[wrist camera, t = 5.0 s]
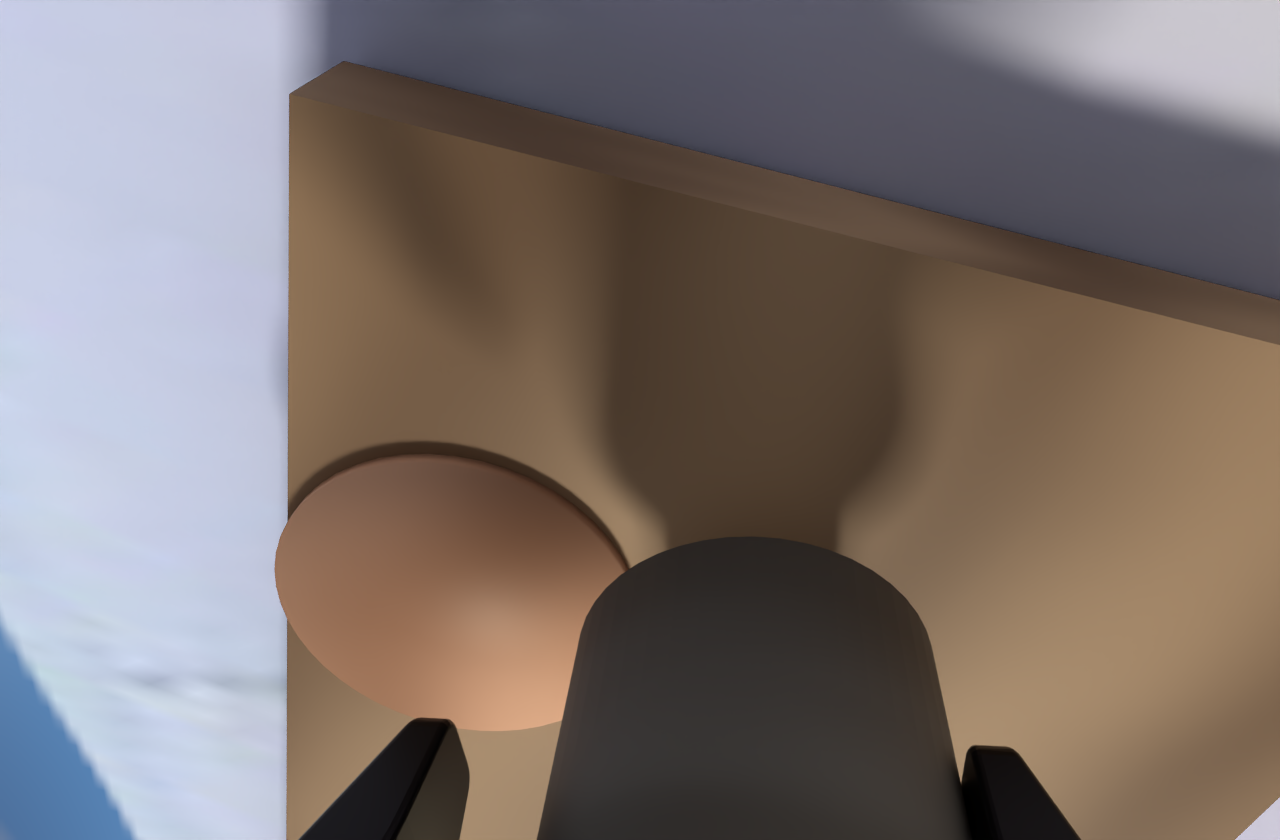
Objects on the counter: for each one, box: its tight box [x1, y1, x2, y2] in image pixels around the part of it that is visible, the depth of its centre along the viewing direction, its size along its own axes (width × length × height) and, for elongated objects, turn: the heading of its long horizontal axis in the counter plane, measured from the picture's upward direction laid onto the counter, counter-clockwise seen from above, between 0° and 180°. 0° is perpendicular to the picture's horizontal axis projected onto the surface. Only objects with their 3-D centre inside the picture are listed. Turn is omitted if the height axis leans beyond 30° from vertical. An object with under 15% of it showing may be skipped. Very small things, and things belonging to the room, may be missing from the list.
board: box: [275, 61, 1280, 840], centre depth 16 cm, size 15×20×2 cm
